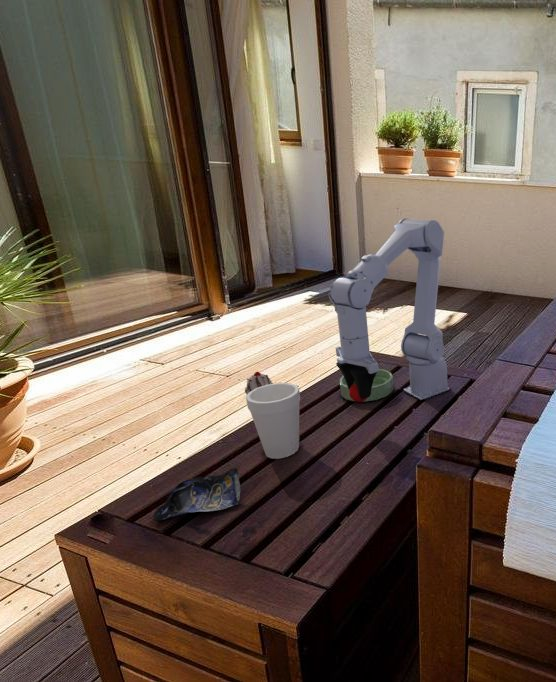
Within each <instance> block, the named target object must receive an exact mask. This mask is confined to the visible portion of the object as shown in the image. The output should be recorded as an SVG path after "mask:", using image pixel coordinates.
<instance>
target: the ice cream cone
mask: <svg viewBox="0 0 556 682" xmlns="http://www.w3.org/2000/svg"><path fill="white" fill-rule="evenodd" d="M268 384H274V383H273V382H272V380H271V378H270V377H269V375H268V374H264V373H261V372H259V371H255V372H254V373H253V375H251V376H250V377H249V378H247V379H246V387H245V388H244V392H245V394H246V395H247V394H248V393H249V392H250V391H252V390H254V389H256V388H258V387H261V386H264V385H268Z"/></svg>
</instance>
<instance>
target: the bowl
mask: <svg viewBox="0 0 556 682" xmlns="http://www.w3.org/2000/svg"><path fill="white" fill-rule="evenodd" d="M393 377H394V376H393V374H392V372H391V371H388V370H386V369H382V368H379V372H377V374H376V375H375V378H374V381H373V384H372V389H371V395H370V397H368V398H367V399H366V400H365V401H364V402H371V401H377V400H380V399H383V398H385V397H388V396H389V395H390V394H392V392H393V391H394V388H395V387H394V378H393ZM339 389H340V391H339V392H340V396H341V397H342V398H344V399H345V400H347V401H352V402H355V401H354V400H352V399H351V397H350V395H349V389H348V386H347V383H346V381H345V378H344V376H343V375H342V376H341V377H340V378H339Z"/></svg>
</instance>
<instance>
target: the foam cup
mask: <svg viewBox="0 0 556 682" xmlns="http://www.w3.org/2000/svg"><path fill="white" fill-rule="evenodd" d="M245 400H246V401H245V402H246V405H247V409H248V411H249V413H250V415H251V418H252V421H253V423H254V426H255V429H256V432H257V435H258V437H259V438H258V439H259V440H260V443H261V446H262V449H263V452H264V454H265V456H266V457H267V458H269V459H273V460H280V459H284V458H288V457H290V456H292V455H294V454H295V453H296V452H298V451H299V447H300V401H301V392H300V388H299V387H298V386H297V384H292V383H289V382H276V383H273V384H268V385H264V386H261V387H258V388H256V389H254V390H252V391H250V392H249V393H248V394H246V396H245Z"/></svg>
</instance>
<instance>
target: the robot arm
mask: <svg viewBox="0 0 556 682" xmlns="http://www.w3.org/2000/svg"><path fill="white" fill-rule="evenodd" d="M444 238H445V231H444V229H443V227H442V226H441V224H440V222H439V221H437V220H436V219H430V220H428V219H415V218H413V219H411V218H405V217H404V218H401V219H400V220H399V221H398V223H397V224H395V225H394V227H393V233H392V234H391V235H390V237H389V238H388V239H387V240H386V241H385V242H384V243H383V245H382V246H381V247H380V248H379V250H378V251H377V252H376V253H375V254H367V255H363V256H362V257H361V258H360V262H358V263H357V264H356V265H355V266H354V268H352V269H351V270H349V271H348V272H347V274H346V275H345V276H344V277H338V278H337V279H335V280H334V281H333V282H332V283H331V284H330V288H329V292H328V293H327V295H328V299H329V301H330V302H331V303H332V304H333V306H334V312H335V313H336V315H337V325H338V333H339V334H338V335H339V341H340V343H339V344H340V346H336V347H335V355H336V356H337V357H336V367H337V368H338V369H339V371H340V373H341V374H342V376H344V378H345V381H346V383H347V386H348V389H350V387H351V386H352V385H353V382H354V381H355V382H356V385H357V389H358V393H359V396H360V398H361V399H365V398H368V397H370V395H371V389H372V384H373V381H374V378H375V375H376V374H377V372H379V369H380V367H379V362H378V361H376V359H375V358H374V356H373V354H372V353H371V351H370V341H369V340H370V339H369V328H368V327H369V326H368V319H367V317H368V316H367V307H366V306H368V305H369V304H370V302H371V299H372V294H373V292H374V290H375V288H376V287H377V286H378V285H379V284H380V282H382V281H383V279H384V278H385V277H386V276H387V275H388V273H389V268H388V267H389V266H390V265H391V264H392V263H393V262H394V261H395V260H396V259H397V258H399V256H401V255H402V254H403V253H404V252H405V251H406V250H408V251H410V252H411V253H413V255H414V256H415V257H416V259H417V260H418V264H417V274H416V286H415V296H414V309H413V320H412V322H411V323H410V324H409V325H407V326H406V327H405V328H404V335H403V337H402V339H401V341H400V350H401V353H402V354H403V355H404V356H405V357H406V358H405V359H406V360H407V361H408V369H409V371H408V372H409V386H408V387H405V388H403V392H405V393H407V394H409V395H410V396H412V397H414V398H416V399H418V400H419V401H422V400H426V399H428V398H431V397H434V396H436V395H439V394H441V393H444V392H448V391H450V389H451V388H450V387H449V384H448V383H449V381H448V366H447V362H446V359H445V358H444V357H443V354H444V351H445V346H444V345H445V344H444V340H443V336H444V333H443V332H442V330H441V329H440V328H439V327H438V326H437V325H436V324H435V322H436V310H437V301H438V292H439V280H440V270H441V258H442V256H443V249H444V240H445V239H444Z"/></svg>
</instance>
